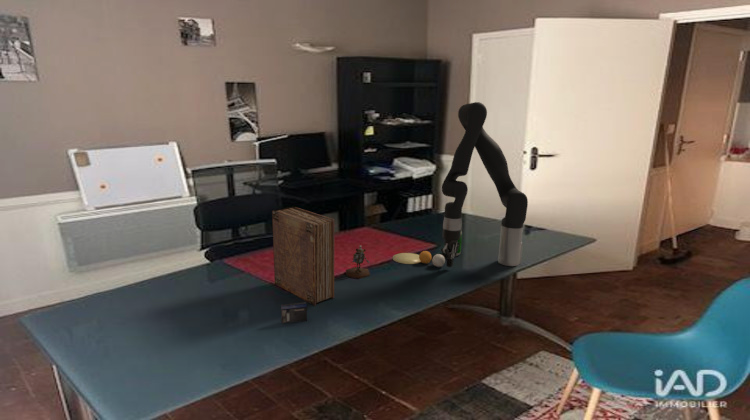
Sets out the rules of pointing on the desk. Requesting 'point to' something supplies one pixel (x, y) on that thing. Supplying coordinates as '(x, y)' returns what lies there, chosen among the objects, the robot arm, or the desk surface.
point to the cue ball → (438, 260)
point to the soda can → (459, 246)
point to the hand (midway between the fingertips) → (449, 266)
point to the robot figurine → (359, 259)
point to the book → (304, 253)
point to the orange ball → (425, 257)
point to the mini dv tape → (294, 312)
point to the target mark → (407, 258)
